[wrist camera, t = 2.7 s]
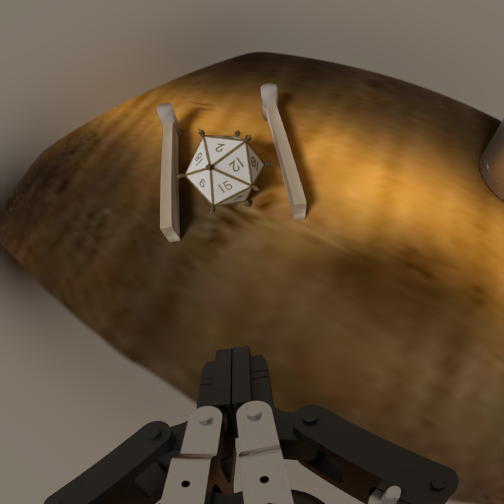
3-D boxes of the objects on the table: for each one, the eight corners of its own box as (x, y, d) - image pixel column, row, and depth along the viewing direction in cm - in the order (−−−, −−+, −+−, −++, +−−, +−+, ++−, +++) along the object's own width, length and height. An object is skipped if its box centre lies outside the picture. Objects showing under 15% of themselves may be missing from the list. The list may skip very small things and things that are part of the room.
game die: (220, 205, 38) (174, 138, 33) (282, 174, 36) (239, 100, 31) (211, 246, 31) (150, 165, 26) (288, 210, 29) (232, 115, 24)
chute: (276, 111, 40) (275, 82, 35) (308, 218, 32) (312, 190, 28) (167, 131, 40) (157, 105, 36) (166, 243, 33) (149, 219, 28)
